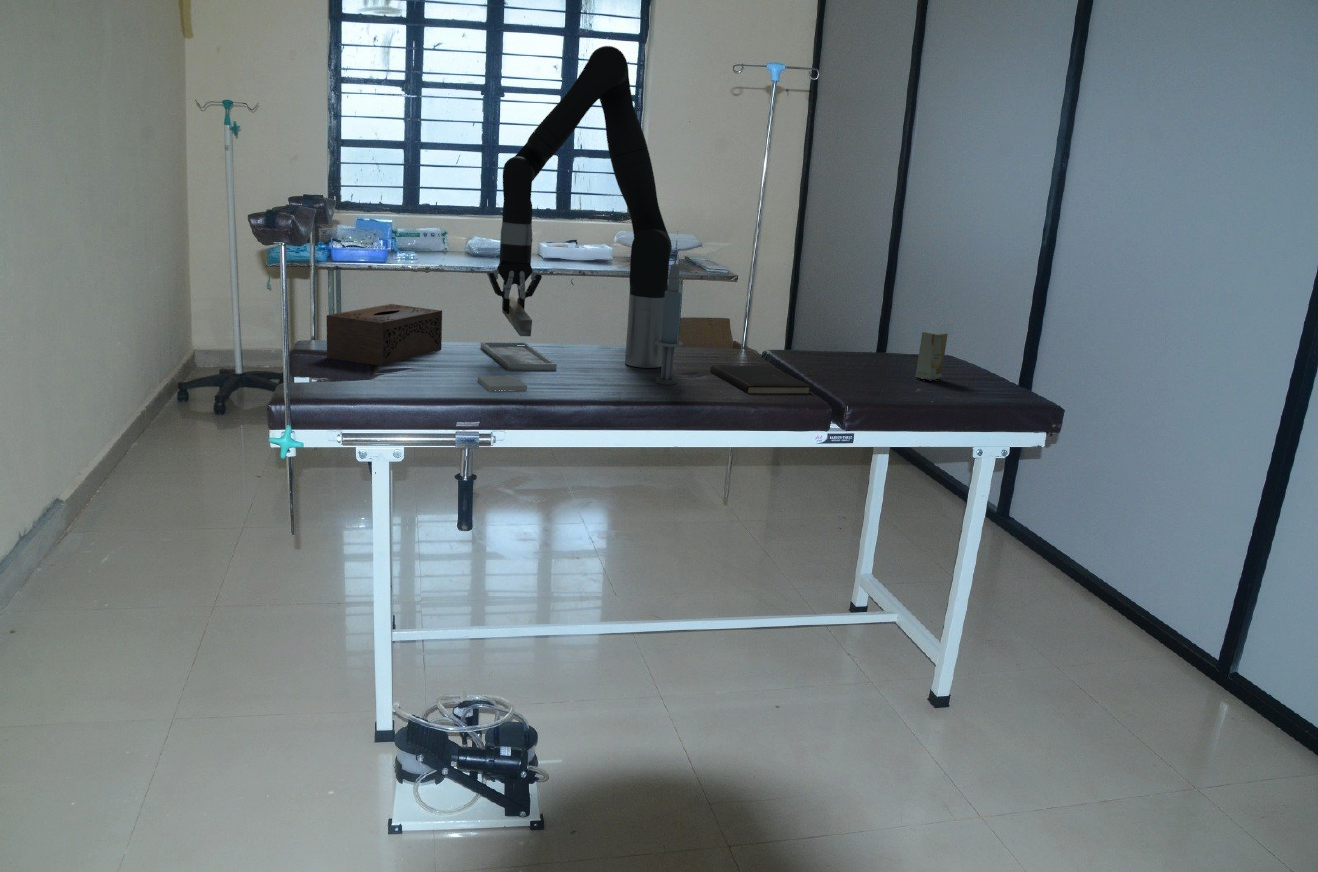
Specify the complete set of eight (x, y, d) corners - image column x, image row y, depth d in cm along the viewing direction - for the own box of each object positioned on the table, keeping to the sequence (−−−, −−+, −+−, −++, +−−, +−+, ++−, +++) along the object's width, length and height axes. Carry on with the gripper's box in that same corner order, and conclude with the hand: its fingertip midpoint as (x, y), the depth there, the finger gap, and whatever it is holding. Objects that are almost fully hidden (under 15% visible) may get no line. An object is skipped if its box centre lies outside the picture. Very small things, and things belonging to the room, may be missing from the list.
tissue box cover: (381, 367, 229) (381, 322, 227) (326, 358, 233) (326, 315, 231) (441, 350, 253) (442, 310, 250) (391, 343, 257) (391, 303, 255)
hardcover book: (769, 374, 256) (770, 365, 255) (810, 395, 235) (811, 386, 234) (709, 374, 251) (710, 365, 250) (746, 395, 230) (747, 385, 229)
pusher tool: (512, 312, 256) (513, 296, 254) (530, 336, 241) (532, 320, 239) (502, 312, 255) (503, 296, 253) (520, 336, 240) (521, 320, 238)
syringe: (666, 378, 239) (676, 228, 229) (682, 384, 234) (693, 231, 224) (647, 380, 236) (656, 227, 226) (662, 386, 231) (673, 230, 221)
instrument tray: (525, 348, 263) (525, 342, 263) (556, 370, 238) (556, 364, 238) (480, 348, 258) (480, 342, 258) (507, 370, 234) (507, 364, 234)
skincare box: (929, 382, 259) (936, 334, 256) (914, 379, 262) (921, 331, 259) (941, 379, 264) (948, 332, 260) (926, 376, 266) (933, 330, 263)
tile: (513, 375, 224) (527, 385, 215) (513, 383, 225) (526, 393, 216) (477, 376, 221) (490, 386, 212) (477, 383, 221) (489, 394, 213)
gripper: (539, 242, 252) (536, 311, 256) (483, 239, 246) (481, 310, 251) (548, 245, 245) (544, 316, 250) (491, 242, 240) (488, 315, 244)
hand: (512, 313), depth 250 cm, fingers closed on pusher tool, 2 cm apart
